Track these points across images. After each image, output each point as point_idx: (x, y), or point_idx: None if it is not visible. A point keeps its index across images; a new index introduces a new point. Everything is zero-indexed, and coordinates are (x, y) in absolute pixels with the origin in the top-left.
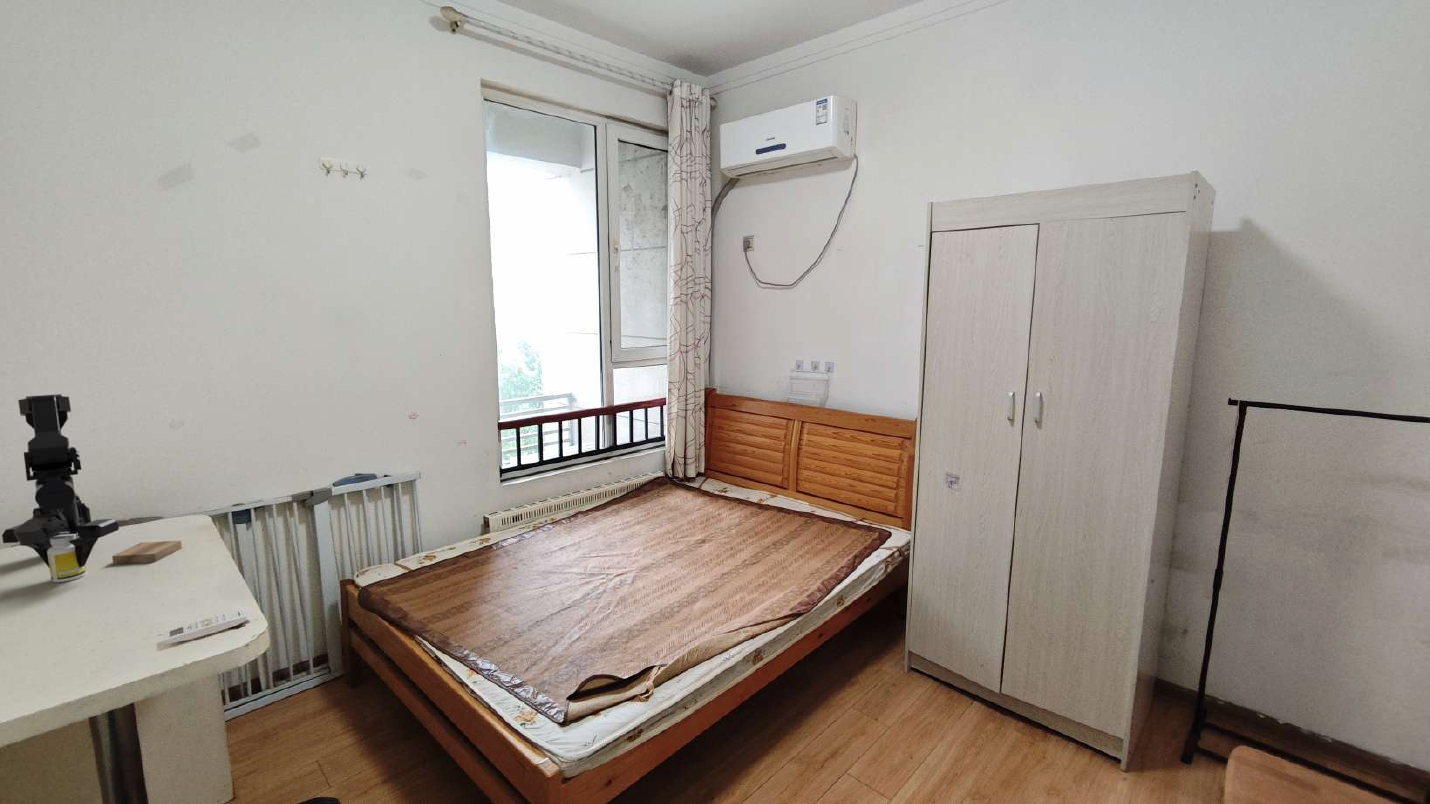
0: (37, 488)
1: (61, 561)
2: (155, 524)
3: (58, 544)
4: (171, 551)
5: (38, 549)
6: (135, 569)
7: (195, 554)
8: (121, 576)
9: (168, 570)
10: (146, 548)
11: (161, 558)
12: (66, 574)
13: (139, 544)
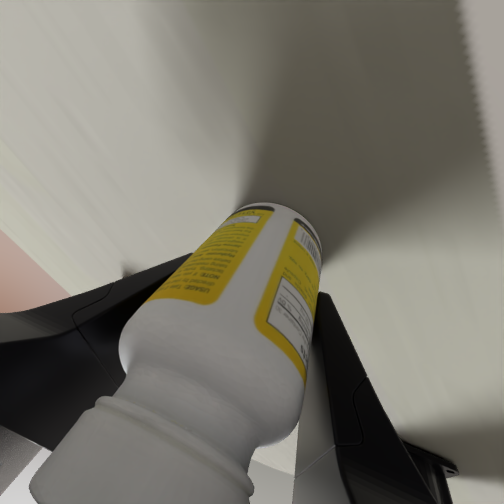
0: None
1: (205, 257)
2: (285, 466)
3: (127, 412)
4: None
5: (373, 460)
6: (119, 242)
7: (82, 287)
8: (102, 189)
9: (27, 193)
10: None
11: None
12: (234, 218)
13: None
